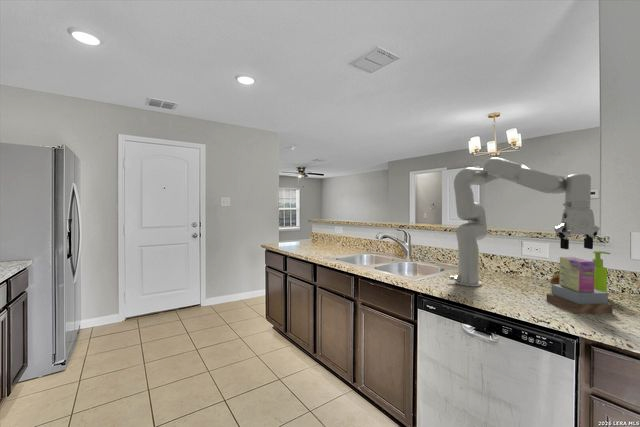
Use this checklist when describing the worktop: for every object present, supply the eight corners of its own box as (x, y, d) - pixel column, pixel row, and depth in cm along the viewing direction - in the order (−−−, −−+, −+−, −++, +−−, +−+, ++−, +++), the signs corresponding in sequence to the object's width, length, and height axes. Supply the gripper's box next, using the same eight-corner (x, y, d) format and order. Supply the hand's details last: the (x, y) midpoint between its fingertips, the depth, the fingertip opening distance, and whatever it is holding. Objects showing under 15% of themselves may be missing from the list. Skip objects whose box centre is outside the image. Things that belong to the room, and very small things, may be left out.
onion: (545, 286, 147) (546, 270, 146) (555, 284, 150) (555, 268, 149) (563, 290, 140) (563, 273, 139) (573, 288, 143) (573, 271, 143)
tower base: (578, 315, 110) (578, 305, 110) (546, 302, 125) (546, 293, 125) (612, 315, 110) (612, 304, 110) (576, 302, 125) (576, 292, 125)
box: (595, 292, 112) (595, 261, 111) (578, 292, 112) (579, 261, 112) (573, 285, 122) (573, 256, 122) (559, 285, 123) (559, 256, 122)
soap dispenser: (612, 300, 124) (612, 253, 124) (590, 297, 128) (590, 252, 128) (607, 296, 129) (608, 251, 129) (586, 294, 133) (587, 250, 133)
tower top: (578, 304, 111) (578, 293, 111) (551, 293, 124) (551, 284, 124) (607, 303, 111) (607, 293, 111) (577, 293, 124) (577, 284, 124)
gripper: (564, 206, 112) (563, 250, 113) (608, 205, 113) (607, 250, 113) (548, 205, 120) (547, 247, 120) (589, 205, 120) (588, 247, 121)
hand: (576, 248), depth 117 cm, fingers open, 9 cm apart
